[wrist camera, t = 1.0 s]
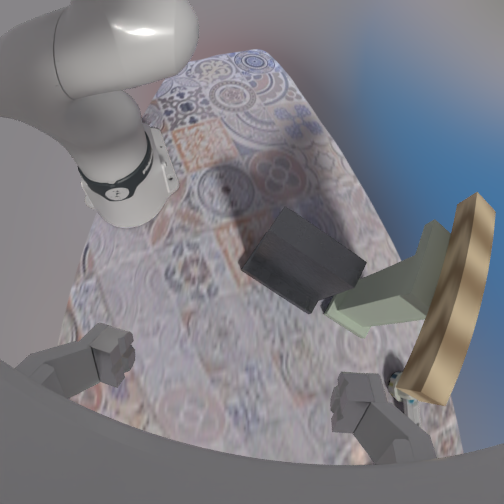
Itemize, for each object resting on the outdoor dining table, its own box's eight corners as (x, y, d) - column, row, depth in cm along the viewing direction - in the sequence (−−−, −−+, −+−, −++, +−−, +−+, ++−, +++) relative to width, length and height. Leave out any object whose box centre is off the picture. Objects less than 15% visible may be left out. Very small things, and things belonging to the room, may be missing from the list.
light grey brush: (411, 478, 40) (405, 383, 43) (394, 466, 47) (384, 376, 49) (429, 465, 42) (426, 371, 44) (412, 455, 48) (404, 365, 50)
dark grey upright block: (308, 314, 51) (350, 303, 35) (241, 270, 51) (256, 240, 36) (329, 276, 54) (375, 252, 38) (265, 234, 54) (289, 193, 38)
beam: (419, 401, 24) (445, 406, 20) (395, 387, 24) (420, 392, 20) (475, 222, 31) (495, 211, 27) (457, 204, 31) (477, 191, 27)
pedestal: (361, 342, 51) (464, 336, 26) (320, 315, 51) (410, 293, 27) (383, 296, 54) (482, 265, 29) (344, 269, 54) (434, 219, 30)
